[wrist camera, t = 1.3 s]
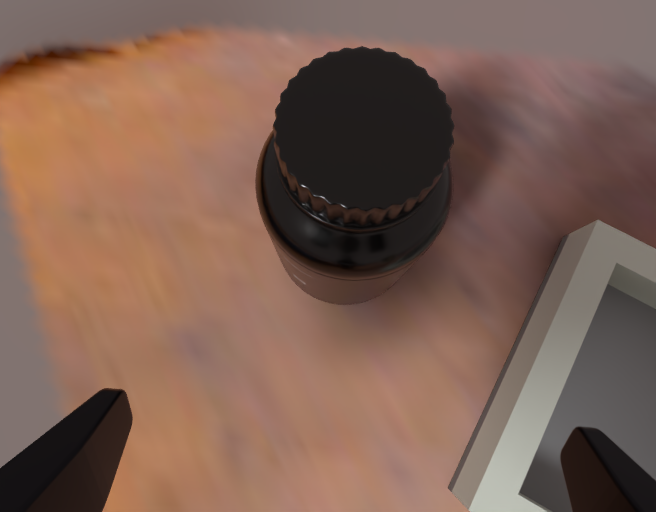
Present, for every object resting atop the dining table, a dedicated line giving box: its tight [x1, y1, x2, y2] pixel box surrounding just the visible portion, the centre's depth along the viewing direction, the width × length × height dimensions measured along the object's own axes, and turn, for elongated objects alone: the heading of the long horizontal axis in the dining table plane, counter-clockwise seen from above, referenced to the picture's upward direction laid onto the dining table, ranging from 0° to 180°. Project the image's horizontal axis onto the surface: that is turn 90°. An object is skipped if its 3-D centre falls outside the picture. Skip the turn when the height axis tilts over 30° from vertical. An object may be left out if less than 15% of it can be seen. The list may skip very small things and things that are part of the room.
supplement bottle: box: [255, 46, 454, 305], centre depth 17 cm, size 7×7×12 cm
